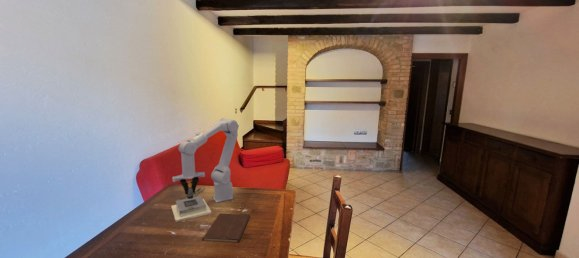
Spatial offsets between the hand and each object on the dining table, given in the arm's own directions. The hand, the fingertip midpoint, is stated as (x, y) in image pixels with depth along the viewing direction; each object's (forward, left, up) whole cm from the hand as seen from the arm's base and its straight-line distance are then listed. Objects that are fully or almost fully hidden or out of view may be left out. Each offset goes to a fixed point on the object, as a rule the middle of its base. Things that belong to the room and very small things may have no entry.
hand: (190, 192), depth 124 cm
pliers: (-3, -18, -10) cm, 21 cm away
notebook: (-11, +24, -10) cm, 28 cm away
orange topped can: (0, 0, -2) cm, 3 cm away
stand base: (0, 0, -9) cm, 9 cm away
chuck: (0, 0, -9) cm, 9 cm away
